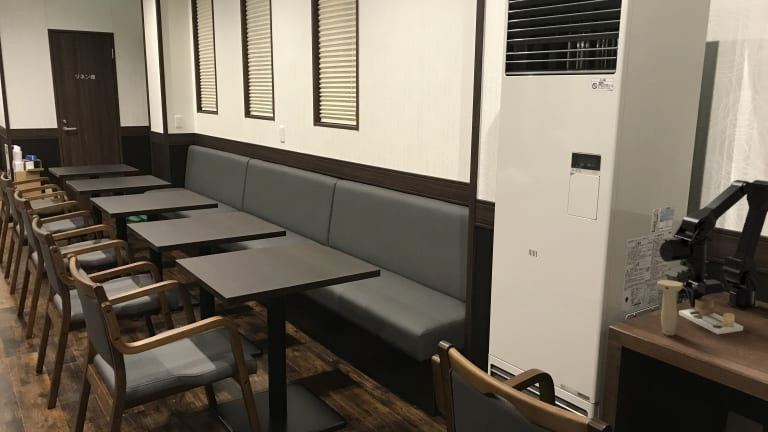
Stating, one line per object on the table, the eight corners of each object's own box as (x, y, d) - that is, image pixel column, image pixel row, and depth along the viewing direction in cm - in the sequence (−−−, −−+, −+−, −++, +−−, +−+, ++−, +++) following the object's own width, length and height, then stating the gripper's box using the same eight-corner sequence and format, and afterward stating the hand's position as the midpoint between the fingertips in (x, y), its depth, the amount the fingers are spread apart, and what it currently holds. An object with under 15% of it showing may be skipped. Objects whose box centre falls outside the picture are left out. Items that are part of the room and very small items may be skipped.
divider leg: (706, 310, 183) (707, 297, 182) (713, 313, 180) (714, 300, 179) (687, 312, 182) (687, 300, 181) (694, 316, 179) (694, 303, 178)
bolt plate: (702, 311, 187) (702, 297, 186) (742, 330, 171) (743, 315, 170) (678, 314, 185) (679, 300, 184) (717, 334, 169) (718, 319, 168)
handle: (678, 339, 168) (679, 287, 165) (653, 334, 172) (654, 283, 169) (683, 333, 171) (684, 282, 168) (659, 328, 175) (660, 279, 173)
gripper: (651, 252, 189) (650, 300, 192) (691, 268, 171) (689, 321, 174) (684, 249, 191) (682, 296, 194) (726, 264, 173) (724, 316, 176)
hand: (693, 307), depth 184 cm, fingers closed
